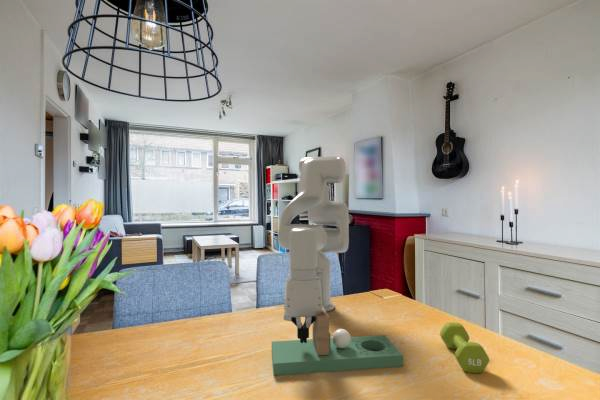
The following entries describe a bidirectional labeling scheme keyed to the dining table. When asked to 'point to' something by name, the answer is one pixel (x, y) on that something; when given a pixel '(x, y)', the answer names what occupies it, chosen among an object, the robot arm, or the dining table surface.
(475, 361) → the dumbbell
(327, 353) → the upright wooden plank
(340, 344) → the ball
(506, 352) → the dining table surface
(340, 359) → the putting mat
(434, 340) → the dining table surface
